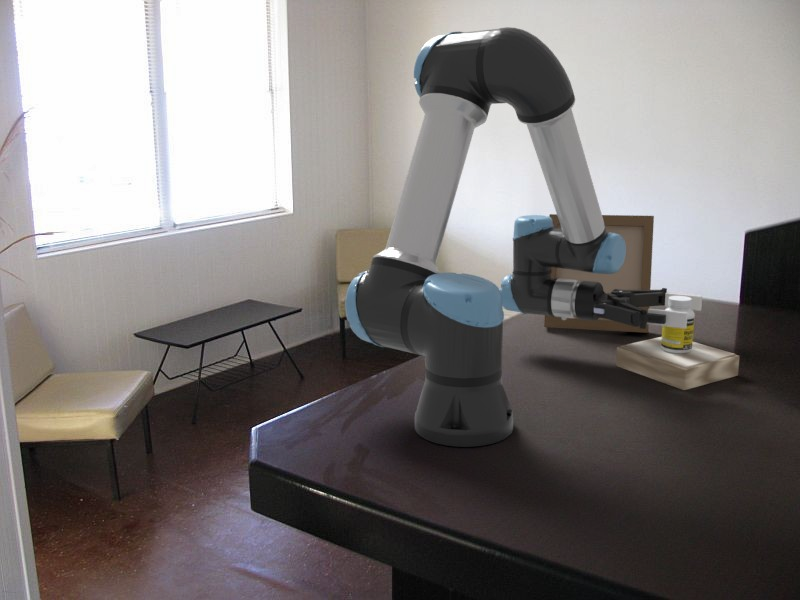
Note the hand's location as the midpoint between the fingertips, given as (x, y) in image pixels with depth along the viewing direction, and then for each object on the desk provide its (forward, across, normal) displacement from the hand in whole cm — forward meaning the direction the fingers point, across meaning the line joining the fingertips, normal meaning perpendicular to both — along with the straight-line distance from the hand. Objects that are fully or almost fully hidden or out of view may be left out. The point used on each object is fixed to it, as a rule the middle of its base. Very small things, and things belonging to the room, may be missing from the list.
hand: (694, 311), depth 143 cm
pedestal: (-3, 0, -12) cm, 12 cm away
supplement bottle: (-3, 0, -8) cm, 8 cm away
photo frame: (-25, -24, -12) cm, 36 cm away
